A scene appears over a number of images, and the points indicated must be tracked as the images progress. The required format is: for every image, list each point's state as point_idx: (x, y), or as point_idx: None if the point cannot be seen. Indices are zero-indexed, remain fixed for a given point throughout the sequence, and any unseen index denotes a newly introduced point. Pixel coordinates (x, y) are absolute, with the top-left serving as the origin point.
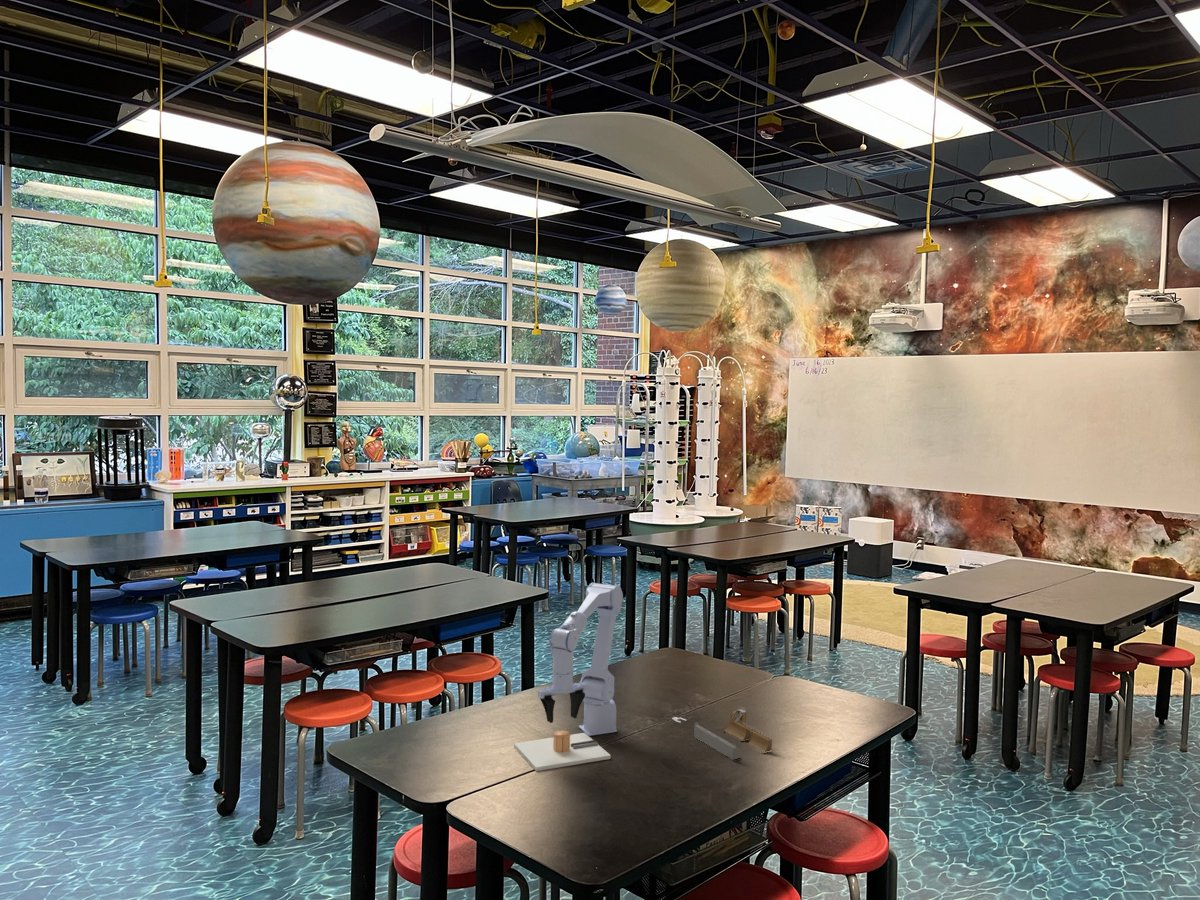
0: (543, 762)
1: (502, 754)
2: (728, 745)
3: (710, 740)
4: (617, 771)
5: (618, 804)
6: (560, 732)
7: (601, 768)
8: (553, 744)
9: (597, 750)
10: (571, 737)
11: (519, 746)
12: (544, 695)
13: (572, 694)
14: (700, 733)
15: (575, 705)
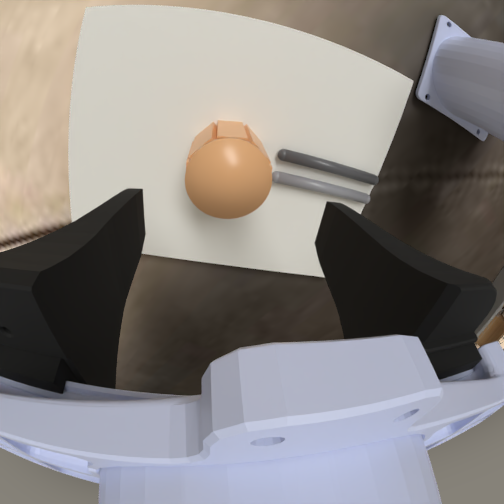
0: None
1: (28, 66)
2: None
3: None
4: (279, 325)
5: (188, 391)
6: (229, 166)
7: (259, 302)
8: (193, 143)
9: None
10: (345, 78)
11: (86, 45)
12: (7, 393)
13: (401, 333)
14: (501, 291)
15: (347, 305)
